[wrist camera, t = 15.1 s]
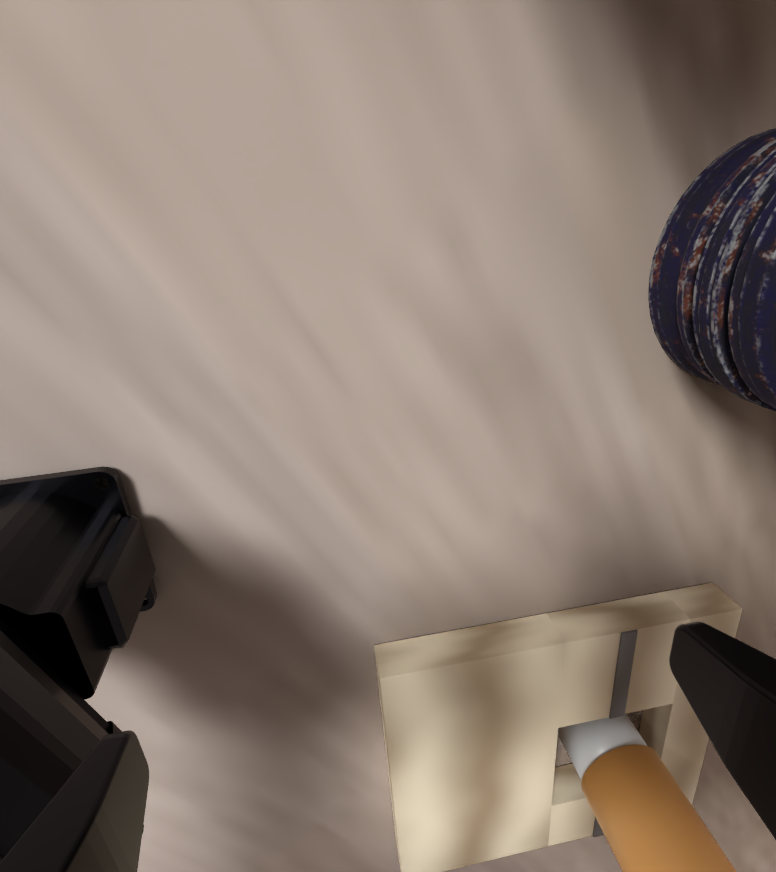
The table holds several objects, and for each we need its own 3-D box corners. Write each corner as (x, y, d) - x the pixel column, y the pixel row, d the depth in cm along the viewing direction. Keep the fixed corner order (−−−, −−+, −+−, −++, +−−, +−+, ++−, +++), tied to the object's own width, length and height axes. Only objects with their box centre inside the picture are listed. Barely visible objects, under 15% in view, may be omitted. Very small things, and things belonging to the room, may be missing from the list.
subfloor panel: (396, 842, 32) (402, 883, 30) (373, 645, 25) (380, 680, 23) (668, 779, 34) (691, 813, 32) (712, 582, 27) (744, 610, 25)
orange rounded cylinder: (575, 760, 31) (734, 1069, 20) (542, 725, 30) (696, 1043, 18) (638, 721, 31) (837, 1015, 20) (607, 683, 29) (807, 983, 18)
